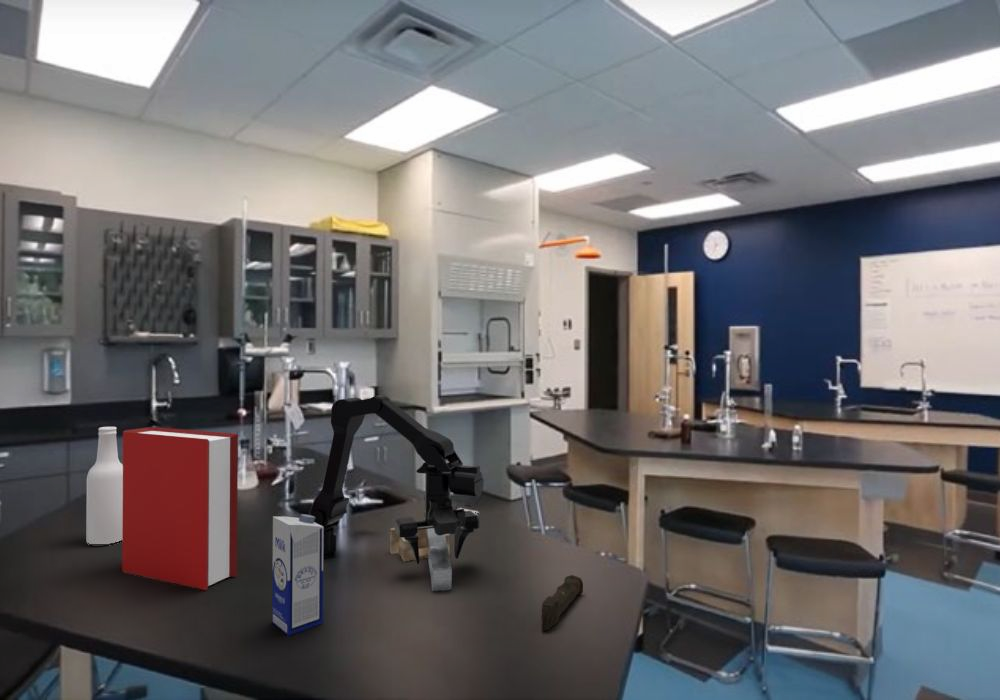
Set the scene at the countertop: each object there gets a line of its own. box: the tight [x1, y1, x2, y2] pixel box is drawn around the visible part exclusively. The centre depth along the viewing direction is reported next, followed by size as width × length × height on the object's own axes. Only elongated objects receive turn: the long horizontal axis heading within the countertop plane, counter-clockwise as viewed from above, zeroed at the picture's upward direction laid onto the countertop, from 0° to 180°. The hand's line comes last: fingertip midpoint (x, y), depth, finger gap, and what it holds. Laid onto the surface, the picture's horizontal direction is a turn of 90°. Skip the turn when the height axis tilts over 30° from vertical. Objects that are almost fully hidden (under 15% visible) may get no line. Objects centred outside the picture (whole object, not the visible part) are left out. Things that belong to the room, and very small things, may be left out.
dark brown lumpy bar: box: [541, 574, 584, 632], centre depth 112 cm, size 19×4×5 cm, turn 153°
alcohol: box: [85, 426, 123, 545], centre depth 150 cm, size 9×9×30 cm
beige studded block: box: [389, 527, 451, 562], centre depth 143 cm, size 15×8×6 cm, turn 112°
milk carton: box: [271, 513, 324, 636], centre depth 106 cm, size 7×7×20 cm
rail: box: [425, 528, 453, 592], centre depth 131 cm, size 4×22×4 cm, turn 12°
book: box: [121, 426, 239, 591], centre depth 129 cm, size 27×8×32 cm, turn 68°
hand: (437, 560), depth 131 cm, fingers open, 9 cm apart
